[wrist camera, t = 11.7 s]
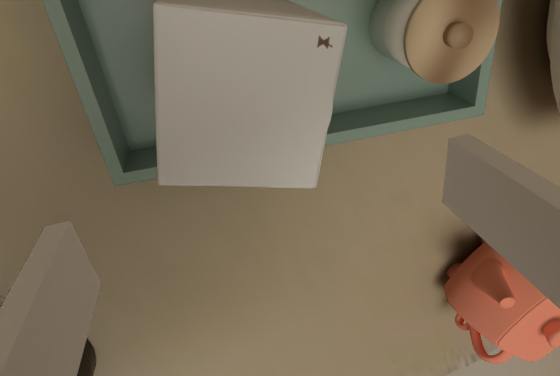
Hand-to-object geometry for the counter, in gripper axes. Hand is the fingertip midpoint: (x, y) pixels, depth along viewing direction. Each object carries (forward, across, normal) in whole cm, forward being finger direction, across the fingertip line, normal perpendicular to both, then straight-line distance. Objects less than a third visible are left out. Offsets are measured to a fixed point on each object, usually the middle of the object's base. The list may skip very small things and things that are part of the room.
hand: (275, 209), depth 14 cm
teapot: (+23, +29, -31) cm, 48 cm away
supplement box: (+22, 0, +2) cm, 22 cm away
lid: (+15, +16, +1) cm, 22 cm away
